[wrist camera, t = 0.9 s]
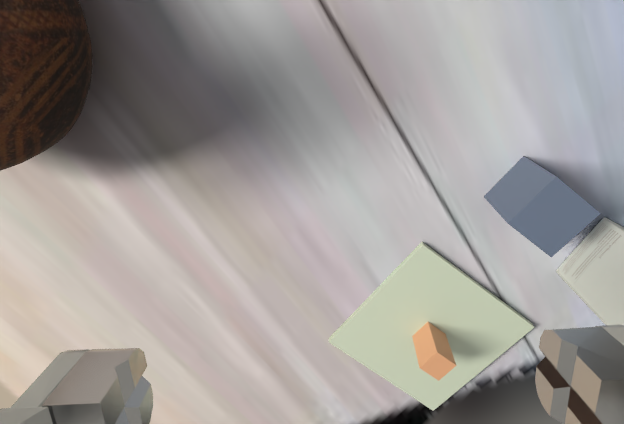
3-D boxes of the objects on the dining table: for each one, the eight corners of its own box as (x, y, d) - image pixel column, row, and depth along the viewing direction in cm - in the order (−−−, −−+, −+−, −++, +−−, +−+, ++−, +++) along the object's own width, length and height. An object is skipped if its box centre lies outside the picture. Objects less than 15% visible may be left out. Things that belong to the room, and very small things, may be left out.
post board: (422, 241, 44) (432, 269, 38) (531, 322, 47) (555, 359, 41) (329, 337, 49) (327, 374, 44) (431, 405, 52) (442, 447, 47)
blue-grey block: (523, 156, 40) (556, 176, 34) (562, 187, 41) (600, 213, 35) (483, 196, 42) (507, 223, 35) (521, 226, 42) (551, 257, 36)
